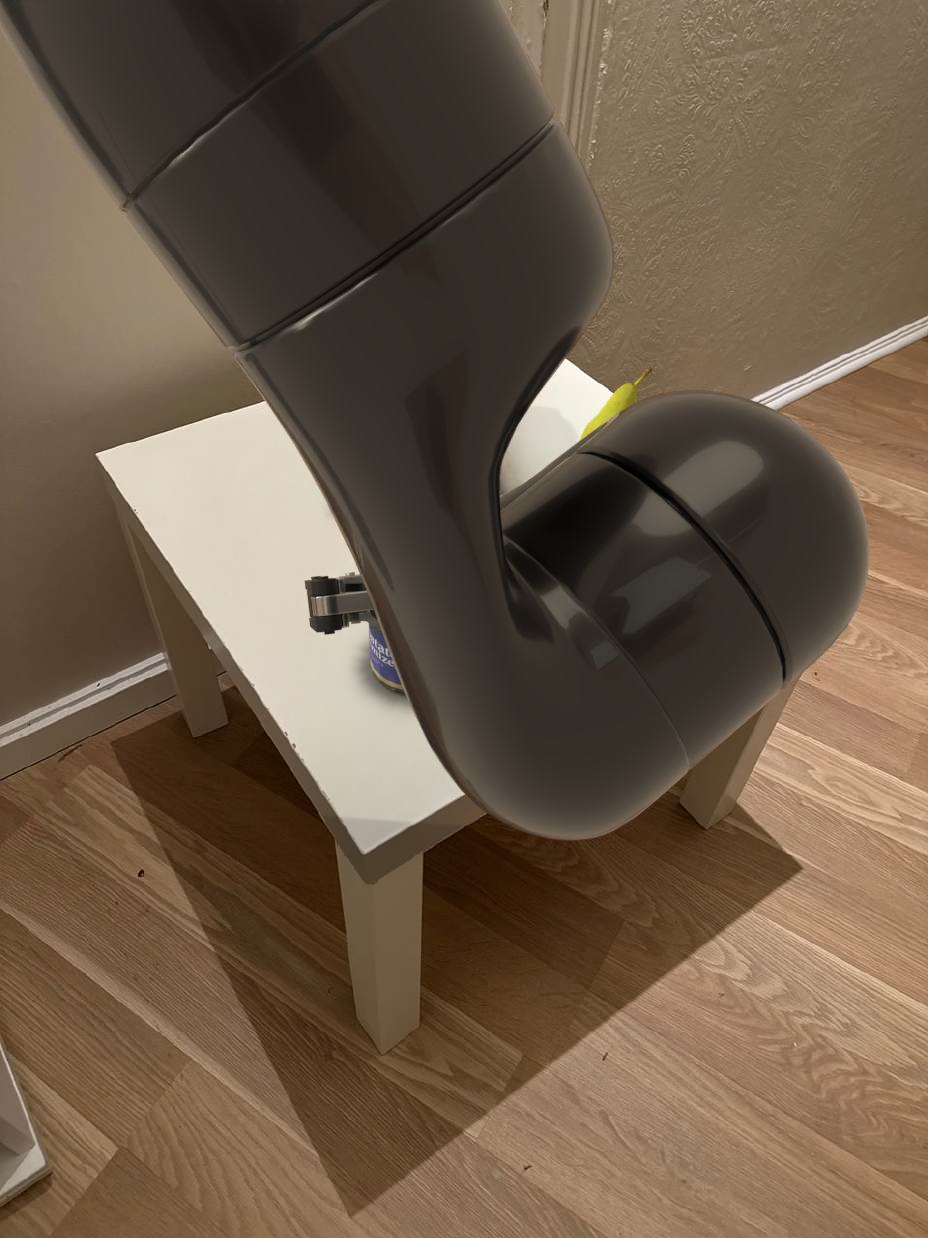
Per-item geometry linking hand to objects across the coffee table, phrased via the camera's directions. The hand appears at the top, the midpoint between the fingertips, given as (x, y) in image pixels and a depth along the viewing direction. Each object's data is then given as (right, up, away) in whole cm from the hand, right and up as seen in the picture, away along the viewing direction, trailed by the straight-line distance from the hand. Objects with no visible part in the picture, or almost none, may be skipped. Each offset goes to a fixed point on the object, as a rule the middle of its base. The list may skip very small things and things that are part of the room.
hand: (429, 586), depth 52 cm
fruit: (+15, +12, +33) cm, 38 cm away
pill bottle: (-2, -6, +16) cm, 17 cm away
